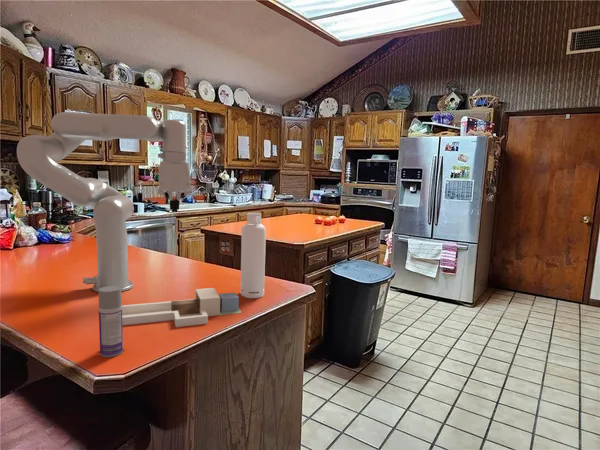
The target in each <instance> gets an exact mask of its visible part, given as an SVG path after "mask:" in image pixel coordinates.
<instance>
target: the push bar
mask: <svg viewBox="0 0 600 450" xmlns="http://www.w3.org/2000/svg"><path fill="white" fill-rule="evenodd" d="M194 299H195V300H190V299H183V300H182V299H181V300H182V301H179V300H170V301H171V311H178V312H179V315H186V314H197V313H200V299H196V298H194ZM221 309H222V301H221V299H220V311H221Z"/></svg>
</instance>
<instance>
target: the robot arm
mask: <svg viewBox="0 0 600 450" xmlns="http://www.w3.org/2000/svg"><path fill="white" fill-rule="evenodd" d="M51 129H52V131H53V133H51V134H50V135H49V136H48V135H47V136H46V135H40V134H39V135H38V134H31V135H26V136H24V137H23V138H21V139H20V140H19V142H18V143H17V146H16V157H17V161H18V164H19V165H20V167H21V168H22V169H23V171H24V172H25V173H26V174H27V175H28V176H30V178H32V179H33V180H35V181H36V182H38V183H40V184H42V185H43V186H45V187H46V188H48V189H50V190H51V191H52V192H54V193H56V194H58V196H60V197H62V198H64V199H66V200H67V201H69V202H70V203H72V204H74V205H76V206H78V207H90V206H91V207H93V212H92V214H93V221H94V225H95V226H94V227H95V236H96V238H95V239H96V263H97V264H96V266H97V267H96V268H97V274H96V276H95V275H94V276H93V277H83V278H82V283H83V284H86V285H92V290H93V291H94V292H97V293H99V289H100V288H102V287H106V286H119V287H121V292H125V291H127V290H130V289H132V288H133V287H134V282H133V281H131V280H129V249H128V248H129V247H128V244H129V243H128V230H127V224H126V221H127V220H129V219H131V217H132V216H133V214H134V211H135V207H134V203H133V201H132V200H131V199H130V198H129V197H128V196H127V195H125V194H124V193H121V191H118V190H117V189H115V188H114V187H112V186H111V185H109V184H107V183H106V182H104V181H102V180H100V179H97V178H94V177H83V176H80V175H79V174H77V173H75V172H74V171H72V170H70V169H69V168H67V167H66V166H64V165H62V164H59V163H58V162H60V161H62V160H64V159H65V158H67V157H68V156H69V155H70V154H71V153H72V152H73V151H75V150H76V149H77V148H78V147H79V146H81V144H83V143H84V142H85V141H86V140H87V141H101V142H102V141H103V142H104V141H105V142H108V141H109V142H110V141H111V140H116V139H117V140H118V139H119V140H120V139H121V140H124V139H125V140H127V139H128V140H141V141H146V142H151V143H158V142H162V152H161V153H157V158H160V159H162V161H160V162H159V166H158V167H159V169H158V190H157V194H159V195H161V196H165V198H166V199H168V200H169V210H170V211H171V213H178V210H180V201H181V199H183V198H184V197H186V196H190V195H191V194H192V193H191V192H192V191H191V173H190V172H191V171H190V165H189V162H187V127H186V123H185V122H184V121H183V120H179V119H165V120H164V121H163V120H158V119H155V118H153V117H151V116H147V115H140V114H118V113H116V114H115V113H112V114H111V113H110V114H109V113H93V112H92V113H89V112H76V111H75V112H73V111H71V112H70V111H62V112H58V113H56V114H55V115H54V116H53V117H52V119H51ZM173 192H176V196H175V198H174V197H173V196H174V195H173Z"/></svg>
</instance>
